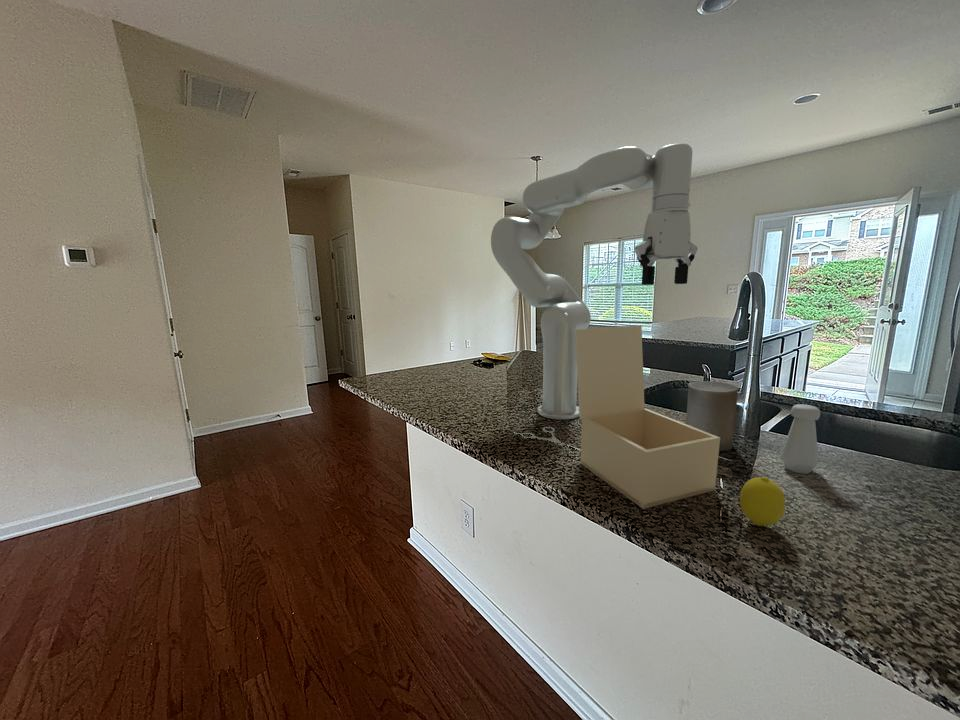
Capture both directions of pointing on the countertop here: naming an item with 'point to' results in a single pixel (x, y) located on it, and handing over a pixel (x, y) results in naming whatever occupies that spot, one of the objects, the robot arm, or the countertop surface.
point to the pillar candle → (713, 410)
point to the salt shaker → (802, 440)
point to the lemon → (762, 501)
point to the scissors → (546, 438)
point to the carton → (649, 456)
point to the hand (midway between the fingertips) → (664, 284)
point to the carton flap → (609, 370)
